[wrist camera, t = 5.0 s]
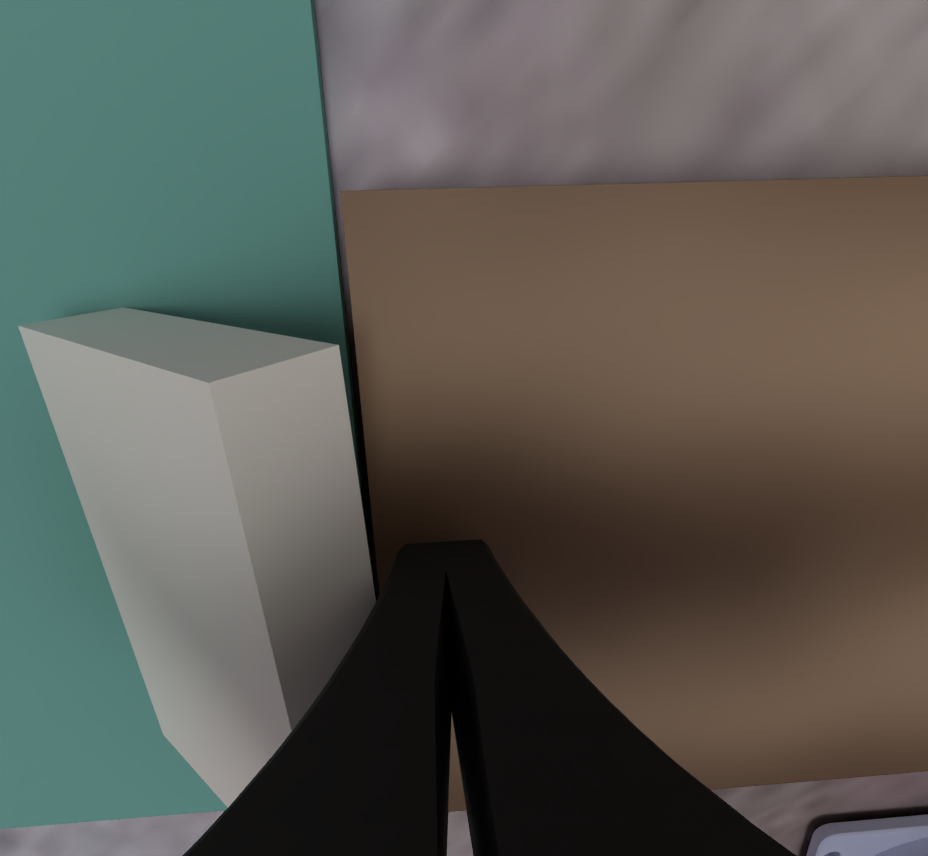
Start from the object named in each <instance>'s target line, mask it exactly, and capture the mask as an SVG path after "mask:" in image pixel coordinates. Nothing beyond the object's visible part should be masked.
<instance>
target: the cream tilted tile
mask: <svg viewBox="0 0 928 856" xmlns="http://www.w3.org/2000/svg"><path fill="white" fill-rule="evenodd" d="M18 327H19V330H20V333H21V336H22V339H23V341H24V344H25V347H26V350H27V353H28V355H29V358H30V361H31V364H32V367H33V369H34V372H35V375H36V378H37V381H38V384H39V386H40V389H41V392H42V395H43V398H44V400H45V403H46V406H47V409H48V412H49V415H50V417H51V420H52V423H53V426H54V429H55V431H56V434H57V437H58V440H59V443H60V445H61V448H62V451H63V454H64V457H65V460H66V462H67V465H68V468H69V471H70V474H71V476H72V479H73V482H74V485H75V488H76V491H77V493H78V496H79V499H80V502H81V505H82V507H83V510H84V513H85V516H86V519H87V521H88V524H89V527H90V530H91V533H92V536H93V538H94V541H95V544H96V547H97V550H98V552H99V555H100V558H101V561H102V564H103V567H104V569H105V572H106V575H107V578H108V581H109V583H110V586H111V589H112V592H113V595H114V598H115V600H116V603H117V606H118V609H119V612H120V614H121V617H122V620H123V623H124V626H125V628H126V631H127V634H128V637H129V640H130V643H131V645H132V648H133V651H134V654H135V657H136V659H137V662H138V665H139V668H140V671H141V674H142V676H143V679H144V682H145V685H146V688H147V690H148V693H149V696H150V699H151V702H152V704H153V707H154V710H155V713H156V716H157V719H158V721H159V724H160V727H161V730H162V733H163V735H164V736H165V737H166V738H167V740H168V741H169V742H170V743H171V744H172V745H173V746H174V747H175V749H176V750H177V751H178V752H179V753H180V754H181V755H182V757H183V758H184V759H185V760H186V761H187V762H188V763H189V764H190V766H191V767H192V768H193V769H194V770H195V771H196V772H197V774H198V775H199V776H200V777H201V778H202V779H203V780H204V781H205V783H206V784H207V785H208V786H209V787H210V788H211V789H212V791H213V792H214V793H215V794H216V795H217V796H218V797H219V798H220V800H221V801H222V802H223V803H224V804H225V805H226V806H227V808H228V807H229V806H230V805H231V804H232V803H233V801H234V800H235V799H236V798H237V797H238V796H239V794H240V793H241V792H242V791H243V790H244V789H245V787H246V786H247V785H248V784H249V783H250V782H251V780H252V779H253V778H254V777H255V776H256V774H257V773H258V772H259V771H260V770H261V769H262V767H263V766H264V765H265V764H266V763H267V762H268V760H269V759H270V758H271V757H272V756H273V754H274V753H275V752H276V751H277V750H278V748H279V747H280V746H281V745H282V743H283V742H284V741H285V739H286V738H287V737H288V736H289V734H290V733H291V732H292V730H293V729H294V728H295V727H296V725H297V724H298V723H299V721H300V720H301V719H302V717H303V716H304V715H305V713H306V712H307V711H308V709H309V708H310V707H311V705H312V704H313V702H314V701H315V700H316V698H317V697H318V695H319V694H320V693H321V691H322V690H323V688H324V687H325V685H326V684H327V683H328V681H329V679H330V678H331V676H332V675H333V673H334V672H335V670H336V669H337V667H338V666H339V664H340V662H341V661H342V659H343V658H344V656H345V655H346V653H347V652H348V650H349V649H350V647H351V645H352V644H353V642H354V641H355V639H356V637H357V636H358V634H359V632H360V630H361V629H362V627H363V625H364V623H365V621H366V620H367V618H368V616H369V614H370V612H371V611H372V609H373V607H374V605H375V603H376V598H375V591H374V584H373V577H372V570H371V563H370V556H369V550H368V543H367V536H366V529H365V522H364V515H363V508H362V501H361V494H360V487H359V480H358V474H357V467H356V460H355V453H354V446H353V439H352V432H351V425H350V418H349V411H348V404H347V398H346V391H345V384H344V377H343V370H342V363H341V356H340V349H339V345H336V344H330V343H325V342H319V341H313V340H307V339H302V338H296V337H290V336H285V335H279V334H273V333H267V332H262V331H256V330H250V329H245V328H239V327H233V326H227V325H222V324H216V323H210V322H205V321H199V320H193V319H188V318H182V317H176V316H170V315H165V314H159V313H153V312H148V311H142V310H136V309H130V308H125V307H122V308H116V309H110V310H105V311H99V312H93V313H87V314H82V315H76V316H70V317H65V318H59V319H53V320H47V321H42V322H36V323H30V324H24V325H19V326H18Z"/></svg>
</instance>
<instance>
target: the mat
mask: <svg viewBox="0 0 928 856" xmlns="http://www.w3.org/2000/svg"><path fill="white" fill-rule="evenodd" d="M122 307H125V308H130V309H136V310H142V311H148V312H153V313H159V314H165V315H170V316H176V317H182V318H188V319H193V320H199V321H205V322H210V323H216V324H222V325H227V326H233V327H239V328H245V329H250V330H256V331H262V332H267V333H273V334H279V335H285V336H290V337H296V338H302V339H307V340H313V341H319V342H325V343H330V344H336V345H339V349H340V356H341V363H342V370H343V377H344V384H345V391H346V398H347V404H348V411H349V418H350V425H351V432H352V439H353V446H354V453H355V460H356V467H357V474H358V480H359V487H360V494H361V501H362V508H363V515H364V522H365V529H366V536H367V543H368V550H369V556H370V548H369V538H368V528H367V518H366V509H365V499H364V489H363V479H362V469H361V459H360V449H359V440H358V430H357V420H356V410H355V400H354V390H353V380H352V371H351V361H350V351H349V341H348V331H347V321H346V311H345V301H344V292H343V282H342V272H341V262H340V252H339V242H338V232H337V223H336V213H335V203H334V193H333V183H332V173H331V163H330V154H329V144H328V134H327V124H326V114H325V104H324V94H323V85H322V75H321V65H320V55H319V45H318V35H317V25H316V16H315V6H314V0H0V829H4V828H16V827H29V826H41V825H53V824H65V823H77V822H89V821H101V820H113V819H125V818H137V817H149V816H161V815H173V814H185V813H197V812H209V811H221V810H226V809H227V806H226V805H225V804H224V803H223V802H222V801H221V800H220V798H219V797H218V796H217V795H216V794H215V793H214V792H213V791H212V789H211V788H210V787H209V786H208V785H207V784H206V783H205V781H204V780H203V779H202V778H201V777H200V776H199V775H198V774H197V772H196V771H195V770H194V769H193V768H192V767H191V766H190V764H189V763H188V762H187V761H186V760H185V759H184V758H183V757H182V755H181V754H180V753H179V752H178V751H177V750H176V749H175V747H174V746H173V745H172V744H171V743H170V742H169V741H168V740H167V738H166V737H165V736H164V735H163V733H162V730H161V727H160V724H159V721H158V719H157V716H156V713H155V710H154V707H153V704H152V702H151V699H150V696H149V693H148V690H147V688H146V685H145V682H144V679H143V676H142V674H141V671H140V668H139V665H138V662H137V659H136V657H135V654H134V651H133V648H132V645H131V643H130V640H129V637H128V634H127V631H126V628H125V626H124V623H123V620H122V617H121V614H120V612H119V609H118V606H117V603H116V600H115V598H114V595H113V592H112V589H111V586H110V583H109V581H108V578H107V575H106V572H105V569H104V567H103V564H102V561H101V558H100V555H99V552H98V550H97V547H96V544H95V541H94V538H93V536H92V533H91V530H90V527H89V524H88V521H87V519H86V516H85V513H84V510H83V507H82V505H81V502H80V499H79V496H78V493H77V491H76V488H75V485H74V482H73V479H72V476H71V474H70V471H69V468H68V465H67V462H66V460H65V457H64V454H63V451H62V448H61V445H60V443H59V440H58V437H57V434H56V431H55V429H54V426H53V423H52V420H51V417H50V415H49V412H48V409H47V406H46V403H45V400H44V398H43V395H42V392H41V389H40V386H39V384H38V381H37V378H36V375H35V372H34V369H33V367H32V364H31V361H30V358H29V355H28V353H27V350H26V347H25V344H24V341H23V339H22V336H21V333H20V330H19V327H18V326H19V325H24V324H30V323H36V322H42V321H47V320H53V319H59V318H65V317H70V316H76V315H82V314H87V313H93V312H99V311H105V310H110V309H116V308H122ZM370 563H371V558H370ZM371 570H372V568H371Z"/></svg>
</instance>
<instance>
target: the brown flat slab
mask: <svg viewBox="0 0 928 856" xmlns="http://www.w3.org/2000/svg"><path fill="white" fill-rule="evenodd" d="M340 194H341V205H342V215H343V225H344V235H345V246H346V256H347V266H348V276H349V287H350V297H351V307H352V318H353V328H354V338H355V348H356V359H357V369H358V379H359V390H360V400H361V410H362V420H363V431H364V441H365V451H366V462H367V472H368V482H369V492H370V503H371V513H372V523H373V534H374V544H375V554H376V564H377V575H378V585H379V595H380V594H381V592H382V590H383V587H384V585H385V583H386V581H387V579H388V577H389V575H390V572H391V570H392V568H393V565H394V562H395V560H396V557H397V554H398V550H399V549H400V548H402V547H403V546H404V545H405V544H411V543H428V542H445V541H462V540H479V539H482V540H483V541H484V542H485V543H486V544H487V545H489V547H490V550H491V551H492V553H493V555H494V557H495V559H496V560H497V562H498V564H499V565H500V567H501V569H502V570H503V572H504V573H505V575H506V576H507V578H508V579H509V581H510V582H511V584H512V585H513V587H514V588H515V590H516V591H517V593H518V594H519V595H520V597H521V598H522V600H523V601H524V602H525V604H526V605H527V606H528V608H529V609H530V610H531V611H532V613H533V614H534V615H535V617H536V618H537V619H538V621H539V622H540V623H541V624H542V626H543V627H544V628H545V630H546V631H547V632H548V633H549V635H550V636H551V637H552V638H553V639H554V641H555V642H556V643H557V644H558V645H559V647H560V648H561V649H562V650H563V651H564V652H565V653H566V655H567V656H568V657H569V658H570V659H571V660H572V661H573V662H574V664H575V665H576V666H577V667H578V668H579V669H580V670H581V671H582V673H583V674H584V675H585V676H586V677H587V678H588V679H589V680H590V681H591V682H592V683H593V684H594V685H595V686H596V687H597V688H598V690H599V691H600V692H601V693H602V694H603V695H604V696H605V697H606V698H607V699H608V700H609V701H610V702H611V703H612V704H613V705H614V706H615V707H616V708H618V709H619V710H620V711H621V712H622V713H623V714H624V715H625V716H626V717H627V718H628V719H629V720H630V721H631V722H632V723H633V724H634V725H635V726H636V727H637V728H638V729H639V730H641V731H642V732H643V733H644V734H645V735H646V736H647V737H648V738H649V739H651V740H652V741H653V742H654V743H655V744H656V745H657V746H658V747H659V748H661V749H662V750H663V751H664V752H665V753H666V754H667V755H668V756H669V757H671V758H672V759H673V760H674V761H675V762H676V763H677V764H679V765H680V766H681V767H682V768H684V769H685V770H686V771H687V772H689V773H690V774H691V775H692V776H694V777H695V778H696V779H697V780H699V781H700V782H701V783H702V784H704V785H705V786H706V787H707V788H709V789H710V790H711V789H723V788H735V787H747V786H758V785H770V784H782V783H794V782H805V781H817V780H829V779H841V778H852V777H864V776H876V775H888V774H899V773H911V772H923V771H928V176H903V177H864V178H825V179H787V180H748V181H709V182H671V183H632V184H594V185H555V186H516V187H478V188H439V189H400V190H362V191H340ZM464 810H466V803H465V797H464V790H463V784H462V777H461V771H460V764H459V758H458V751H457V745H456V738H455V732H454V725H453V718H452V717H451V746H450V774H449V801H448V812H452V811H464Z"/></svg>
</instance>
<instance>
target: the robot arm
mask: <svg viewBox="0 0 928 856" xmlns="http://www.w3.org/2000/svg"><path fill="white" fill-rule="evenodd" d="M451 717H452V718H453V725H454V732H455V738H456V745H457V751H458V758H459V764H460V771H461V777H462V784H463V790H464V797H465V803H466V810H467V816H468V823H469V829H470V836H471V842H472V849H473V855H474V856H796V855H794V854H793V853H792V852H790V851H789V850H788V849H786V848H785V847H783V846H782V845H781V844H779V843H778V842H777V841H775V840H774V839H772V838H771V837H770V836H768V835H767V834H766V833H764V832H763V831H761V830H760V829H759V828H757V827H756V826H755V825H753V824H752V823H751V822H750V821H748V820H747V819H746V818H745V817H743V816H742V815H741V814H740V813H738V812H737V811H736V810H735V809H733V808H732V807H731V806H730V805H728V804H727V803H726V802H725V801H723V800H722V799H721V798H720V797H718V796H717V795H716V794H715V793H713V792H712V791H711V790H710V789H709V788H707V787H706V786H705V785H704V784H702V783H701V782H700V781H699V780H697V779H696V778H695V777H694V776H692V775H691V774H690V773H689V772H687V771H686V770H685V769H684V768H682V767H681V766H680V765H679V764H677V763H676V762H675V761H674V760H673V759H672V758H671V757H669V756H668V755H667V754H666V753H665V752H664V751H663V750H662V749H661V748H659V747H658V746H657V745H656V744H655V743H654V742H653V741H652V740H651V739H649V738H648V737H647V736H646V735H645V734H644V733H643V732H642V731H641V730H639V729H638V728H637V727H636V726H635V725H634V724H633V723H632V722H631V721H630V720H629V719H628V718H627V717H626V716H625V715H624V714H623V713H622V712H621V711H620V710H619V709H618V708H616V707H615V706H614V705H613V704H612V703H611V702H610V701H609V700H608V699H607V698H606V697H605V696H604V695H603V694H602V693H601V692H600V691H599V690H598V688H597V687H596V686H595V685H594V684H593V683H592V682H591V681H590V680H589V679H588V678H587V677H586V676H585V675H584V674H583V673H582V671H581V670H580V669H579V668H578V667H577V666H576V665H575V664H574V662H573V661H572V660H571V659H570V658H569V657H568V656H567V655H566V653H565V652H564V651H563V650H562V649H561V648H560V647H559V645H558V644H557V643H556V642H555V641H554V639H553V638H552V637H551V636H550V635H549V633H548V632H547V631H546V630H545V628H544V627H543V626H542V624H541V623H540V622H539V621H538V619H537V618H536V617H535V615H534V614H533V613H532V611H531V610H530V609H529V608H528V606H527V605H526V604H525V602H524V601H523V600H522V598H521V597H520V595H519V594H518V593H517V591H516V590H515V588H514V587H513V585H512V584H511V582H510V581H509V579H508V578H507V576H506V575H505V573H504V572H503V570H502V569H501V567H500V565H499V564H498V562H497V560H496V559H495V557H494V555H493V553H492V551H491V550H490V547H489V545H487V544H486V543H485V542H484V541H483V540H482V539H479V540H462V541H445V542H428V543H411V544H405V545H404V546H403V547H402V548H400V549H399V550H398V554H397V557H396V560H395V562H394V565H393V568H392V570H391V572H390V575H389V577H388V579H387V581H386V583H385V585H384V587H383V590H382V592H381V594H380V596H379V598H378V600H377V602H376V603H375V605H374V607H373V609H372V611H371V612H370V614H369V616H368V618H367V620H366V621H365V623H364V625H363V627H362V629H361V630H360V632H359V634H358V636H357V637H356V639H355V641H354V642H353V644H352V645H351V647H350V649H349V650H348V652H347V653H346V655H345V656H344V658H343V659H342V661H341V662H340V664H339V666H338V667H337V669H336V670H335V672H334V673H333V675H332V676H331V678H330V679H329V681H328V683H327V684H326V685H325V687H324V688H323V690H322V691H321V693H320V694H319V695H318V697H317V698H316V700H315V701H314V702H313V704H312V705H311V707H310V708H309V709H308V711H307V712H306V713H305V715H304V716H303V717H302V719H301V720H300V721H299V723H298V724H297V725H296V727H295V728H294V729H293V730H292V732H291V733H290V734H289V736H288V737H287V738H286V739H285V741H284V742H283V743H282V745H281V746H280V747H279V748H278V750H277V751H276V752H275V753H274V754H273V756H272V757H271V758H270V759H269V760H268V762H267V763H266V764H265V765H264V766H263V767H262V769H261V770H260V771H259V772H258V773H257V774H256V776H255V777H254V778H253V779H252V780H251V782H250V783H249V784H248V785H247V786H246V787H245V789H244V790H243V791H242V792H241V793H240V794H239V796H238V797H237V798H236V799H235V800H234V801H233V803H232V804H231V805H230V806H229V807H228V808H227V809H226V810H225V811H224V813H223V814H222V815H221V816H220V817H219V818H218V819H217V820H216V821H215V823H214V824H213V825H212V826H211V827H210V828H209V829H208V830H207V831H206V832H205V833H204V834H203V835H202V837H201V838H200V839H199V840H198V841H197V842H196V843H195V844H194V845H193V846H192V847H191V848H190V849H189V850H188V851H187V852H186V853H185V854H184V855H183V856H447V829H448V801H449V774H450V746H451ZM806 856H928V814H925V815H914V816H903V817H892V818H881V819H869V820H858V821H847V822H836V823H828V824H824V825H822V826H820V827H818V828H817V829H816V830H815V831H814V833H813V835H812V839H811V842H810V845H809V848H808V852H807V855H806Z"/></svg>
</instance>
